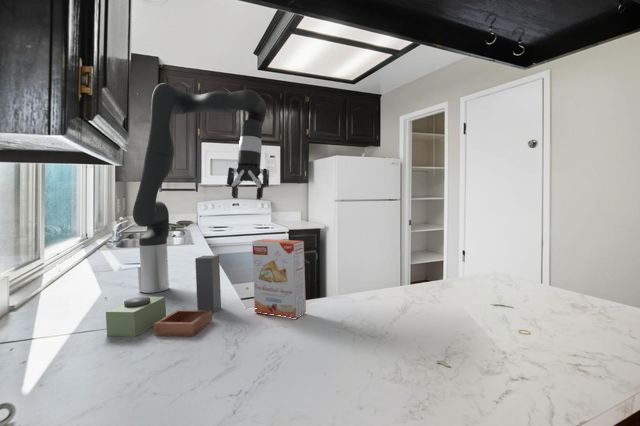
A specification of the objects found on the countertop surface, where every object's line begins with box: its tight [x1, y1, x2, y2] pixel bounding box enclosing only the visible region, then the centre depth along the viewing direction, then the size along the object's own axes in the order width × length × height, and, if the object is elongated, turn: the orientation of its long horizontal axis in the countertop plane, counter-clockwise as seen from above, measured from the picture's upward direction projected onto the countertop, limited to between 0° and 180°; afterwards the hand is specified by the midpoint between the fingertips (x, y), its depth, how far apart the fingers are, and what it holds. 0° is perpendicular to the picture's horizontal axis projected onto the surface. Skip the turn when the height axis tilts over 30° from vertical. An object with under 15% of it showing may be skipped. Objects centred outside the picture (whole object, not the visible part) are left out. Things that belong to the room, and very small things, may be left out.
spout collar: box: [153, 309, 213, 337], centre depth 86 cm, size 10×10×3 cm
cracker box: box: [252, 238, 307, 319], centre depth 95 cm, size 14×6×21 cm, turn 62°
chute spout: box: [194, 255, 222, 314], centre depth 100 cm, size 5×5×16 cm
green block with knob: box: [105, 296, 167, 338], centre depth 89 cm, size 8×13×7 cm, turn 172°
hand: (246, 198), depth 115 cm, fingers open, 8 cm apart
